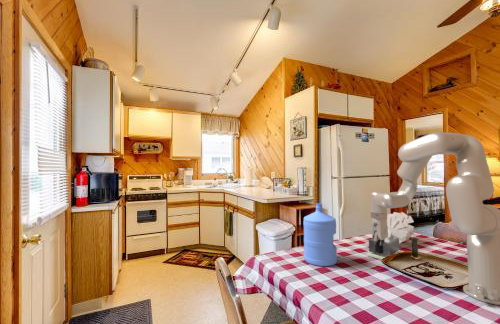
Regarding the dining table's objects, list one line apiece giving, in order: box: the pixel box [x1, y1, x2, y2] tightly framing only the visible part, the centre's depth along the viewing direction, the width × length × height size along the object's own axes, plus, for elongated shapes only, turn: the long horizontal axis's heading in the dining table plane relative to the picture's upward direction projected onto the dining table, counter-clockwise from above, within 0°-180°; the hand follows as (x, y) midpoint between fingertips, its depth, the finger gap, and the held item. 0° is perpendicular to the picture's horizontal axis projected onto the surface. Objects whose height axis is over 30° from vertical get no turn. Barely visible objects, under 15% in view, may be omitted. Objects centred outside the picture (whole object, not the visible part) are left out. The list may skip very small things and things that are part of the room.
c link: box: [368, 237, 400, 256], centre depth 126 cm, size 14×10×6 cm
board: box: [366, 250, 401, 260], centre depth 125 cm, size 16×11×1 cm
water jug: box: [303, 202, 338, 267], centre depth 118 cm, size 16×16×28 cm
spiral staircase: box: [385, 211, 415, 245], centre depth 144 cm, size 18×18×25 cm
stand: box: [410, 236, 421, 259], centre depth 120 cm, size 4×4×10 cm
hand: (380, 251), depth 122 cm, fingers closed on c link
